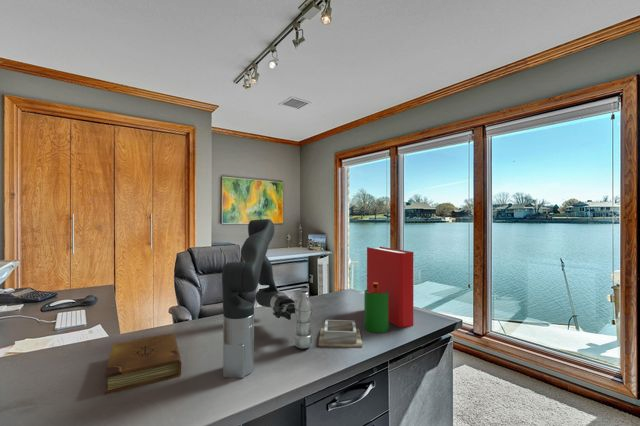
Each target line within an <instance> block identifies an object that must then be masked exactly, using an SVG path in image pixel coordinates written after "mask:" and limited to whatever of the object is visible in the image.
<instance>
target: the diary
mask: <svg viewBox="0 0 640 426" xmlns="http://www.w3.org/2000/svg"><path fill="white" fill-rule="evenodd" d="M181 359H182V357H181V355H180V350H179V347H178V342H177V338H176V335H175V334H174V333H168V334H162V335H161V334H160V335H156V336H150V337H144V338H137V339H133V340H126V341H122V342H121V341H120V342H115V343H114V342H113V343H112V345H111V350H110V354H109V357H108V361H107V365H106V369H105V374H104V379H107V380H106V386H105V390H104V395H107V393H108V394H111V392H112V393H116V392H119V391H124V389H125V390H129V389H132V387H133V388H136V386H137V387H141V385H142V386H145V384H146V385H149V384H155V383H158V382H161V381H165V380H171V379H175V378H179V377H181V376H182V360H181ZM128 388H129V389H128Z"/></svg>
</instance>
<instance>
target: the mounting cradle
mask: <svg viewBox="0 0 640 426" xmlns="http://www.w3.org/2000/svg"><path fill="white" fill-rule="evenodd" d="M356 326H357V325H356V321H355V320H354V319H353V320H352V319H351V320H348V319H345V320H344V319H325V322H324V327H321V328H320V331H319V336H318V337H319V338H318V347H328V348H329V347H330V348H331V347H333V348H335V347H336V348H363V342H362V336H361V331H360V328H357V327H356Z"/></svg>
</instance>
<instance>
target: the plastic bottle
mask: <svg viewBox="0 0 640 426" xmlns="http://www.w3.org/2000/svg"><path fill="white" fill-rule="evenodd" d="M297 297H298V299H297V301H296V302H295V303H296V304H295V314H294V315H295V335H294V339H293V340H294V345H295V346H296V348H298V349H303V350H304V349H308V348H310V347H311V345H312V344H313V343H312V341H313V336H312V330H311V319H312V318H311V317H312V314H311V311H312V309H313V308H312V307H313V305H312V302H311V301H310V299H309V291H308V290H298V296H297Z"/></svg>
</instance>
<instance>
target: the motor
mask: <svg viewBox="0 0 640 426" xmlns="http://www.w3.org/2000/svg"><path fill="white" fill-rule="evenodd" d="M373 289H374V293H368V290H367V289H365V290H364V297H363V298H364V300H363V301H364V303H363V304H364V312H363V313H364V316H363V317H364V321H363V322H364V327H363V328H364V329H365V330H366V331H368V332H371V333H379V334H380V333H385V332H388V331H389V329H390V327H389V323H390V322H389V292H388V291H387V292H386V293H384V294H382V293H378V283H377V282H374V283H373Z"/></svg>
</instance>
